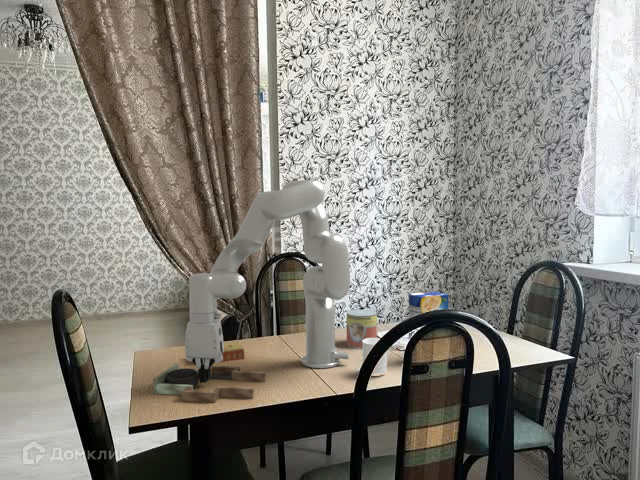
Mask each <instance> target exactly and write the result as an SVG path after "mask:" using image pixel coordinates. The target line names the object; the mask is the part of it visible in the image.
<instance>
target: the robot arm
mask: <svg viewBox="0 0 640 480" xmlns="http://www.w3.org/2000/svg"><path fill="white" fill-rule="evenodd" d="M325 196H326V193H325V188H324V186H323V185H322V184H321V183H320V182H319V181H318V180H314V179H304V180H293V181H289V182H287V183H285V184H284V185H283V186H282V189H279V190H270V191H263V192H260V193H258V194H257V195H256V196H255V198H254V199H253V201H252V202H251V205H250V206H249V209H248V211H247V213H246V215H245V217H244V219H243V221H242V222H241V225H240V227H239V228H238V231H237V232H236V234H235V236H234V237H233V238H232V239H231V240H230V241H229V243H227V245H226V246H225V247H224V248H223V249H222V250H221V252H220V254H219V255H218V256H217V258H216V260H215V262H214V264H213V266H212V268H211V271H210V272H209V273H208V272H201V273H194V274H191V275H190V277H189V280H188V281H189V282H188V286H189V287H188V288H189V289H188V290H189V291H188V292H189V293H188V296H189V298H188V302H189V321H188V322H187V325H186V329H185V330H186V331H185V339H184V341H185V342H184V353H185V354H184V355H185V361H188V362H192V363H193V364H194V365H195V367H196V369H198V378H199V379H198V380H199V383H200V384H202V383H203V384H207V382H208V381H209V380H211V379H210V376H211V375H210V367H211V366H214V364H217V363H222V362H221V361H222V360H223V357H222V353H223V352H224V344H225V343H224V335H223V328H222V323H221V321H220V320H221V319H222V318H223V317H222V316H223V313H219V311H218V299H229V300H230V299H233V300H234V299H236V298H239V297H241V296H243V294H244V293H245V292H246V289H247V281H246V279H245V277H244V276H243V275H241V274H240V273H238V272H237V271H238V270H239V268H240V266H241V264H243V262H244V261H245V260H246V259H247V258H249V257H250V256H251V255H253V254H255V253H257V252H258V251H260V250H261V249H263V247H264V245H265V243H266V241H267V239H268V236H269V234H270V233H271V230H272V228H273V226H274V225H275V223H276V221H282V220H283V221H284V220H287V219H290V218H293V217H296V216H298V217H299V219H300V222H301V228H302V229H301V230H302V241H303V252H304V256H305V257H306V259H308V260H309V262H312V263H317V264H321V265H315V266H312V267H310V268H308V269H307V270H306V272H305V273H304V274H303V278H302V288H303V294H304V300H305V301H304V303H305V355H304V356H303V357H301V361H300V362H301V364H302V365H303V366H305V367H308V368H311V369H329V368H335V367H336V366H338V365H340V363H341V361H340V359H342V360H349V356H350V355H349V353H348V352H346V351H339V350H338V347H337V346H336V305H335V301H337V300H341V299H343V298H345V297H346V296H347V295H348V293H349V291H350V288H351V287H350V286H351V273H350V272H351V271H350V256H349V250H348V249H349V248H348V246H347V244H346V241H345V240H344V239H343V237H341V236H340V235H337V234H334V233H330V228H329V227H330V226H329V219H328V214H327V211H326V209H325V207H324V205H323V204H322V203H323V201H324V200H325ZM203 358H206V359H205V364H204V360H203Z"/></svg>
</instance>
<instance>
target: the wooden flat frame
mask: <svg viewBox="0 0 640 480" xmlns="http://www.w3.org/2000/svg"><path fill="white" fill-rule="evenodd" d="M177 369H182V367H181V368H179V363H173V364H172V365H171V366H169V367H167V368H166V369H165V370H164V371H162V372H161V373H159V374H158V375H156V377H154V378H153V379H152V384H153V385H152V390H153V392H152V393H153V394H161V395H176V396H178V395H179V396H181V401H182V402H197V403H198V402H199V403H216V402H217V401H218V400H219V399H220V398H234V399H254V398H255V395H254V394H255V392H254V391H255V390H254V387H241V386H237V387H236V386H221V385H220V386H219V385H218V386H216V387H215V389H214V390H212V391H206V390H194V388H193V385H182V384H166V375H167V374H168V373H169V372H171V371H173V370H177ZM193 369H194V370H196V371H197V372H198V369H197V368H193ZM210 375H211V376H210V379H209V380H225V381H226V380H228V381H229V380H230V381H241V382H258V383H259V382H260V383H261V382H263V383H265V382H266V381H267V378H266V377H267V376H266V375H267V374H266V371H249V370H247V371H243V370H242V371H241V367H240V366H233V365H232V366H231V365H212V366H211V367H210ZM198 380H200V379H199V378H198Z"/></svg>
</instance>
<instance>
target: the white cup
mask: <svg viewBox="0 0 640 480" xmlns="http://www.w3.org/2000/svg"><path fill="white" fill-rule="evenodd" d="M379 340H380V337H377V338H366V339H364V340H362V348H363V349H362V361H363V362H364V360H365V358H366V357H367V355H368V354H369V352H370V351H371V349H372V348H373V346H374V345H375V344H376V343H377V342H378V341H379ZM388 353H389V350H388V351H387V352H386V353H385V354H384V355H383V357H382V358H381V360H380V361H379V363H378V364H377V366H376V368H375V370H374V372H373V374H374V373H384V372H386V373H387V365H388Z"/></svg>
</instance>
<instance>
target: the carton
mask: <svg viewBox="0 0 640 480" xmlns="http://www.w3.org/2000/svg"><path fill="white" fill-rule="evenodd" d="M223 344H224V352H223V353H222V357H223V360H222V361H221V362H220V363H224V362H230V361H233V362H234V361H239V360H245V348H244V347H243V345H241V344H240V343H239V341H237V342H229V343H223ZM205 359H206V358H203V360H204V365H205Z"/></svg>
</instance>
